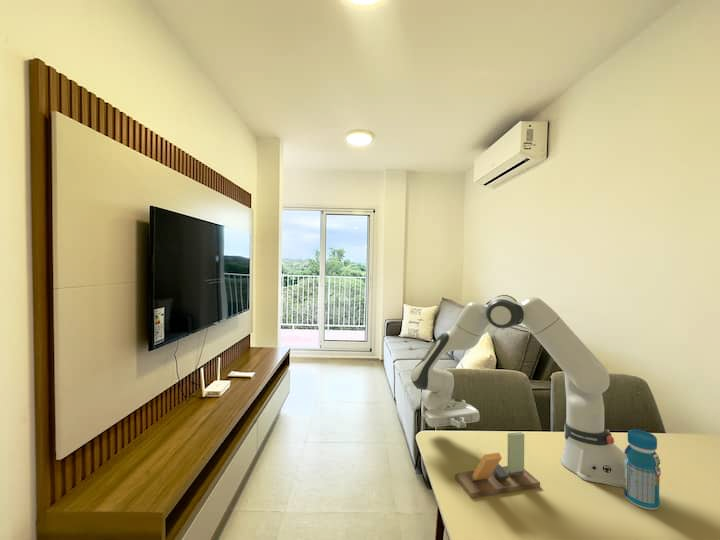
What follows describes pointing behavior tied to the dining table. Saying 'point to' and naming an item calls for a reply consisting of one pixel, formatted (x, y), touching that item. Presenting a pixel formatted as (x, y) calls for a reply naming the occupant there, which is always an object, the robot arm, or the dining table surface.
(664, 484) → the dining table surface
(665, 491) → the dining table surface
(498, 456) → the orange paddle lever
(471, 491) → the walnut switch board
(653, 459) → the beverage bottle
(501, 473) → the dark gray rocker switch
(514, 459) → the sage paddle lever
